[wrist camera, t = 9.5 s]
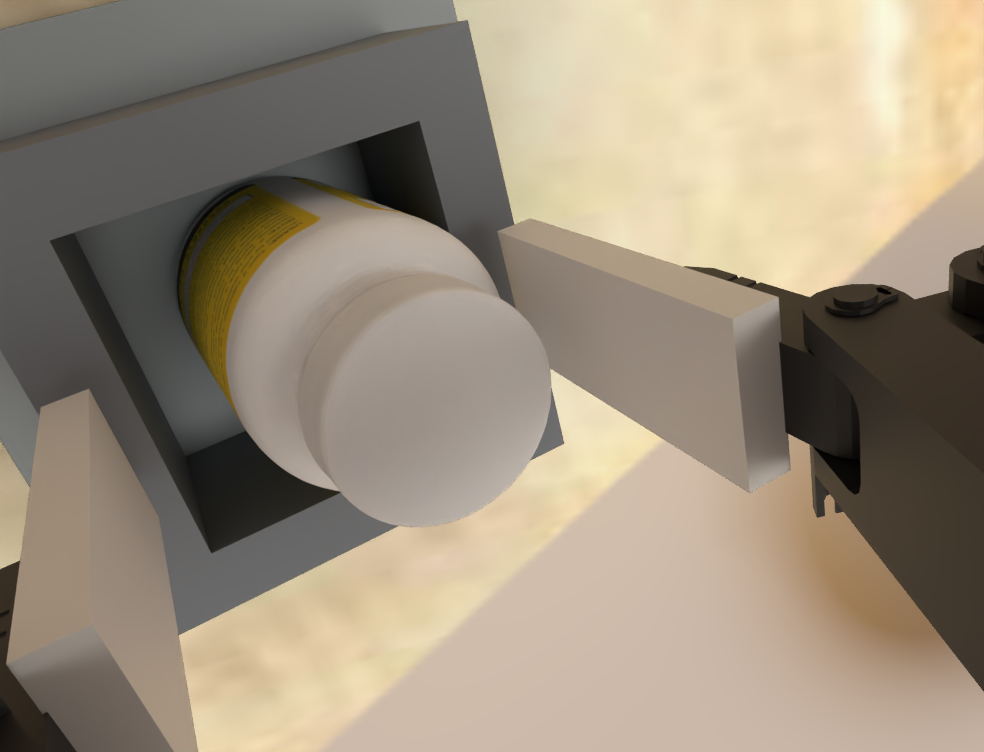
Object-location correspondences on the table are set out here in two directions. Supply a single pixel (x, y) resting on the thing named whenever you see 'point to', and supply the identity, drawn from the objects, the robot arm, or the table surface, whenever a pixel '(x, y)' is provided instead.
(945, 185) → the table surface
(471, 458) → the supplement bottle
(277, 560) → the socket board
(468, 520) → the table surface
